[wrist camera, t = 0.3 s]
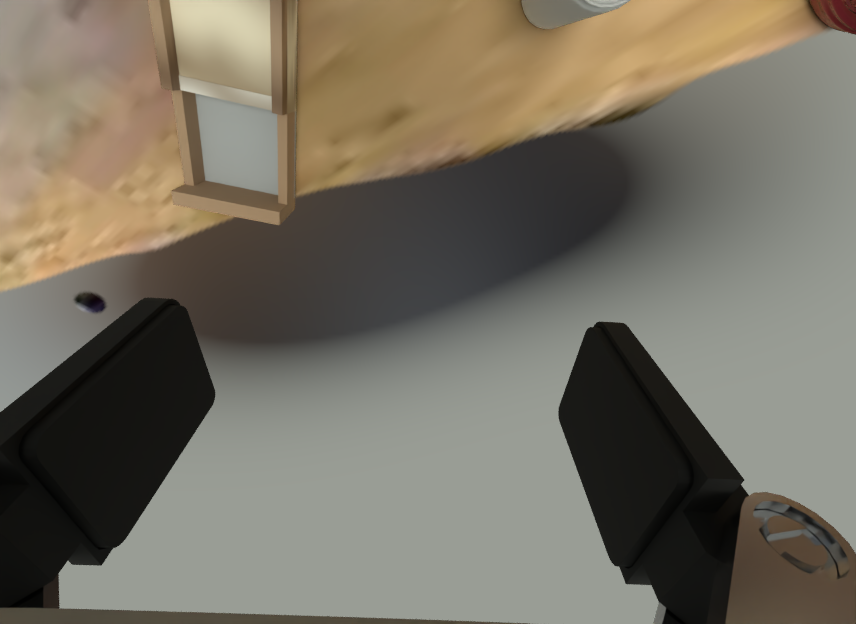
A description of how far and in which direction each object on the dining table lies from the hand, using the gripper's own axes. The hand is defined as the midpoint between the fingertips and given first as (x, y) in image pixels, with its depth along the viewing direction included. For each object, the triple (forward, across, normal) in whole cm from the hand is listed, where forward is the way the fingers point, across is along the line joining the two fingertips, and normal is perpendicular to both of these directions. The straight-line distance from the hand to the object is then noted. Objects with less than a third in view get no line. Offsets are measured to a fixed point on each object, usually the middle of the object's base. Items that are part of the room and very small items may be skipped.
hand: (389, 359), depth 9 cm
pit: (+30, +16, +1) cm, 34 cm away
